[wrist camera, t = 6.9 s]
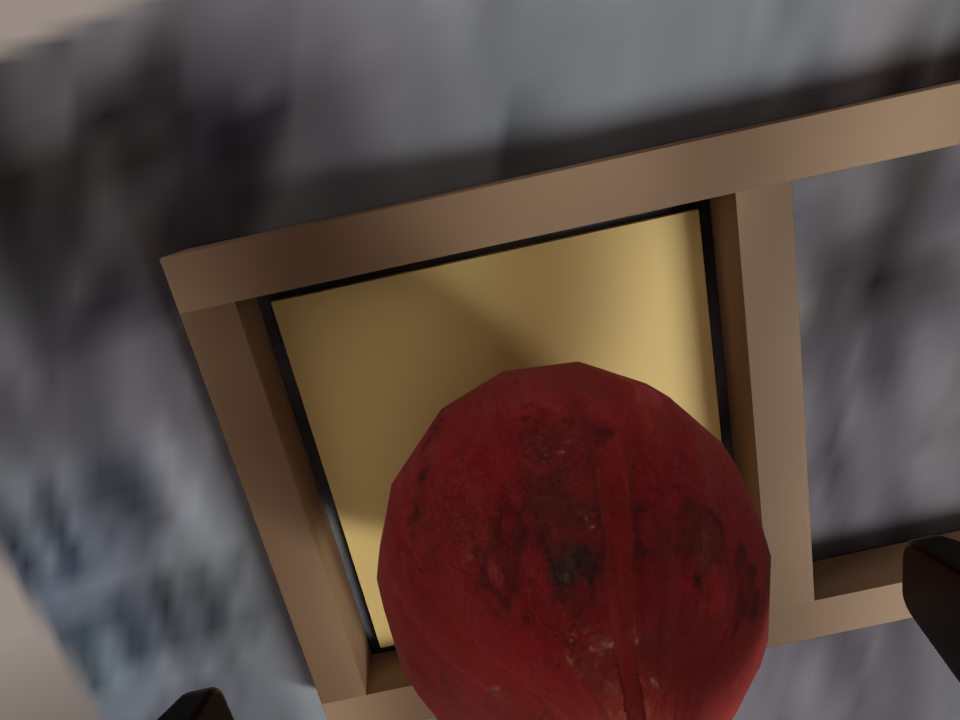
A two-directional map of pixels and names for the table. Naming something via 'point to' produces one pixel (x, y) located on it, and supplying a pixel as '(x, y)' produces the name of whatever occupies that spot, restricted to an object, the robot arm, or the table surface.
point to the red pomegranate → (574, 556)
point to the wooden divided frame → (533, 353)
